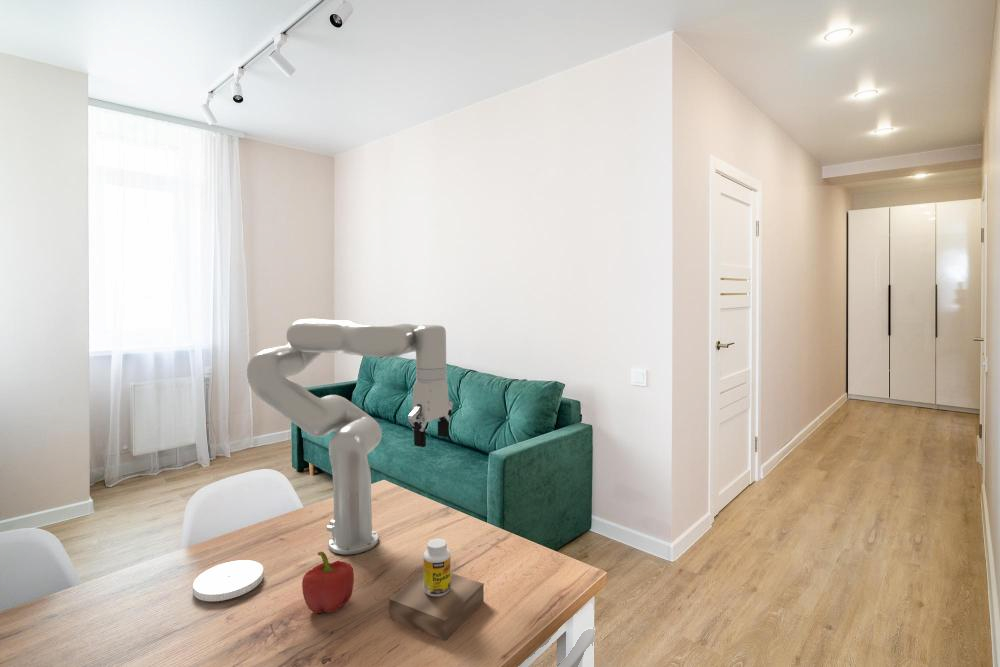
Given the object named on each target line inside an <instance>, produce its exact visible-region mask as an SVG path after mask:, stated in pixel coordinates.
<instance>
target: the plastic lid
mask: <svg viewBox="0 0 1000 667" xmlns="http://www.w3.org/2000/svg"><path fill="white" fill-rule="evenodd" d="M263 579H264V566H263V564H261V563H260V562H258V561H254V560H249V559H246V560H245V559H240V560H239V559H238V560H232V561H227V562H223V563H219V564H217V565H214V566H213V567H211V568H208V569H206V570H205V571H204V572H201V573H200V574H199V575H197V577H196V578H195V579H194V581H193V583H192V595H193V597H195V598H196V599H197V600H201V601H203V602H205V601H206V602H219V601H221V602H222V601H226V600H230V599H233V598H234V599H235V598H236V597H237V598H239V597H240V596H242V595H245V594H247V593H249V592H250V591H252V590H253V589H256V588H257V587H258V586H259V585H260V584H261V582H262V581H263Z"/></svg>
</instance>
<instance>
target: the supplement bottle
mask: <svg viewBox="0 0 1000 667" xmlns="http://www.w3.org/2000/svg"><path fill="white" fill-rule="evenodd" d="M426 547H427V548H426V550H425V551H424V553H423V572H424V591H425V593H426V594H428V595H429V596H434V597H438V596H442V595H445V594H446V593H448V591H449V590H450V586H451V584H450V573H451V551H450V549H448V548H447V547H448V546H447V541H446V540H445V539H443V538H432V539H431V540H428V542H427V546H426Z"/></svg>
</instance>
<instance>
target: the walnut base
mask: <svg viewBox="0 0 1000 667" xmlns="http://www.w3.org/2000/svg"><path fill="white" fill-rule="evenodd" d="M450 584H451V586H450V590H449V591H448V593H446V594H445V595H442V596H438V597H434V596H429V595H428V594H426V593H425V591H424V571H423V572H421V573H420V574H419V575H417V576H416V577H415V578H414V579H412V580H410V582H408V583H407V584H406V585H405V586H404V587H402V588H401V589H399V590H398V591H397V592H396V593H394V594H392V595H391V596H390V597H389V598H388V617H389V618H390V619H391V620H393V621H397V622H399V623H402V624H404V625H406V626H409V627H411V628H413V629H416V630H418V631H421V632H424V633H426V634H428V635H430V636H433V637H436V638H438V639H441V640H442V641H447V640H448V639H449V637H451V636H452V635H453V634H454V633H455V631H457V629H458V628H459V627H461V626H462V625H463V623H464V622H465V621H466V620H467V619H468V618H470V616H471V615H472V614H473V613H474V612H475V611H476V610H477V609H478V608H479V607H480V606H481V604H483V603H484V598H485V596H484V594H485V592H484V590H485V589H484V588H485V587H484V586H485V585H484V583H482V582H480V581H477V580H473V579H471V578H467V577H465V576H461V575H458V574H455V573H453V572H450Z"/></svg>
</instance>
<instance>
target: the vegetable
mask: <svg viewBox="0 0 1000 667" xmlns="http://www.w3.org/2000/svg"><path fill="white" fill-rule="evenodd" d="M317 556H320V557H321V560H322V563H320V564H317V565H316V566H314V567H312V569H308V571H306V572H305V574H304V576H302V581H301V585H302V586H301V588H302V589H301V590H302V595H303V599H304V602H305V604H306V606H307V607H308V609H309V610H310V611H312V613H315V614H321V613H324V612H326V613H332V612H335V611H337V610H339V609H340V608H341V607H342V606H344V605H345V604H347V603H348V602H349V600H350V599H351V597H352V595H353V589H354V583H355V582H354V581H355V574H354V572H355V571H354V568H353V566H352V565H351V564H350V563H348V562H345V561H341V560H336V561H334V562H329V559H328V557H327V554H326V553H325V552H323V551H319V552H317Z"/></svg>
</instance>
